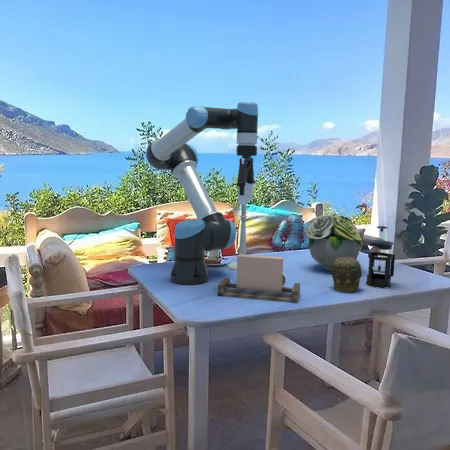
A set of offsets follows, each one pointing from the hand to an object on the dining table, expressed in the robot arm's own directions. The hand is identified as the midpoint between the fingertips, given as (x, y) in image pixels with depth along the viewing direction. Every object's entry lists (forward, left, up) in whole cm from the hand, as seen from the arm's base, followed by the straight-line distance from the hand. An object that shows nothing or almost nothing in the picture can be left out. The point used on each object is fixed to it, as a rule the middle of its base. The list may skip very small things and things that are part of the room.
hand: (245, 202), depth 180 cm
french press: (+51, +15, -32) cm, 62 cm away
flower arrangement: (+33, +34, -32) cm, 57 cm away
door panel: (+8, -12, -31) cm, 34 cm away
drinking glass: (+10, +11, -29) cm, 32 cm away
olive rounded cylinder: (+38, +5, -32) cm, 50 cm away
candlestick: (-6, +26, -32) cm, 42 cm away
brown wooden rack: (+8, -12, -32) cm, 35 cm away
